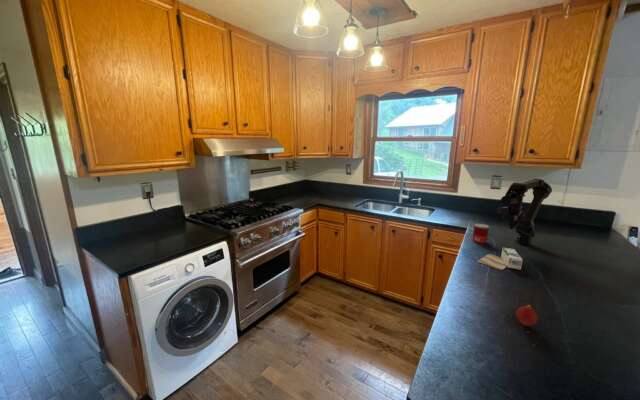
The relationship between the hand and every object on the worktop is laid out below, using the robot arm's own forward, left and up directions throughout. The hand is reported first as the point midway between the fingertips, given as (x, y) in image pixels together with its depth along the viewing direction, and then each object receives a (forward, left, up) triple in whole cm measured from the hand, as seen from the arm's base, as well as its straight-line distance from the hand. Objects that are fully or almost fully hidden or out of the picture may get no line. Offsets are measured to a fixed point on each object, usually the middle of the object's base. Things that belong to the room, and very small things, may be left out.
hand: (511, 228), depth 158 cm
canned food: (+13, -8, -12) cm, 20 cm away
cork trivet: (+19, +22, -12) cm, 32 cm away
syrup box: (+10, +16, -9) cm, 21 cm away
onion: (+36, +74, -12) cm, 83 cm away
